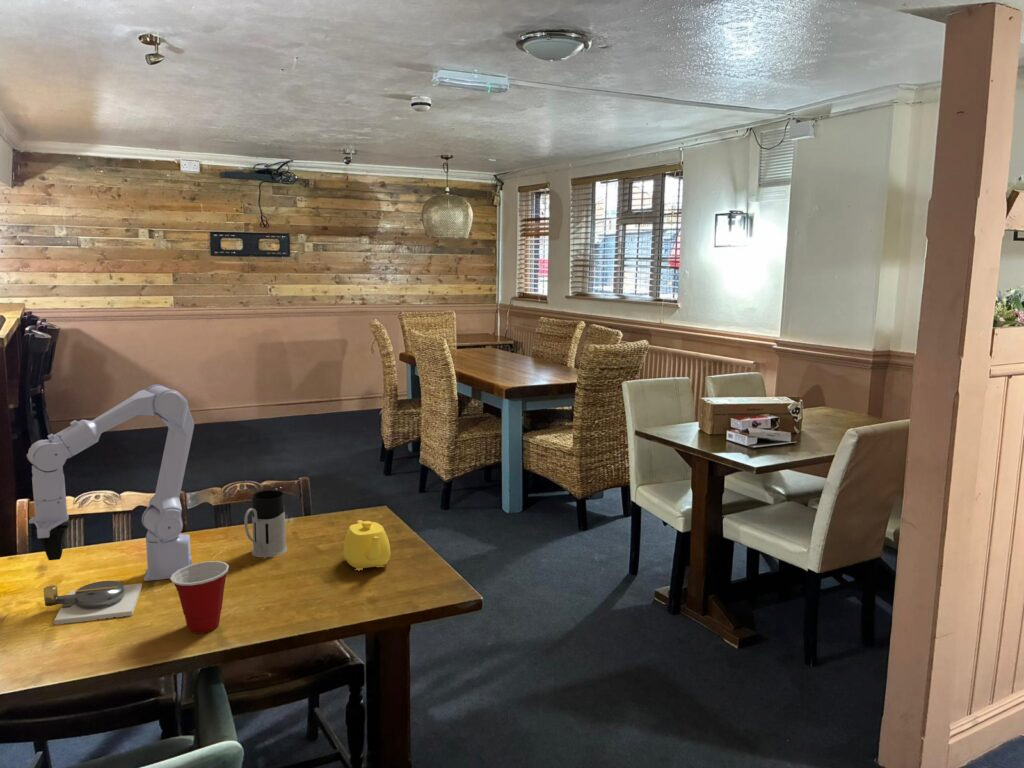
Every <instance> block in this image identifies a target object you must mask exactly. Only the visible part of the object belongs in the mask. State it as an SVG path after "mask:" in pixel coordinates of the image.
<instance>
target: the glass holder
mask: <svg viewBox="0 0 1024 768" xmlns="http://www.w3.org/2000/svg"><path fill="white" fill-rule="evenodd" d="M284 494H285V493H284V492H282V491H281V490H274V489H273V490H272V489H271V490H270V489H269V490H268V489H267V490H261V491H257V492H255V493H253V494H252V495H251V496H252V497H251V500H252V501H251V502H252V507H251V508H248V509H247V510H246V512H245V514H244V521H243V523H244V530H245V533H246V536H247V539H248V540H249V541H250V542H252V543H253V544H252V547H253V548H252V550H251V555H252V554H253V555H254V556H257V557H264V558H263V559H267V558H266V557H274V556H277V555H280V554H282V553H284V552H286V551H287V548H288V547H287V543H286V542H287V541H286V507H285V498H284V497H285V496H284ZM250 512H252V515H251V517H252V519H251V520H252V536H251V534H250V531H249V527H248V516H249V514H250ZM287 552H288V551H287ZM253 555H252V556H253ZM254 556H253V557H254ZM257 557H256V558H257ZM274 558H275V557H274Z"/></svg>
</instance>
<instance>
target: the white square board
mask: <svg viewBox="0 0 1024 768" xmlns="http://www.w3.org/2000/svg"><path fill="white" fill-rule="evenodd" d="M123 585H124V597H123V598H122V599H121V600H119V601H118V602H116V603H113V604H111V605H108V606H104V607H98V608H82V607H79V606H77V605H76V603H68V604H61V605H62V606H61V608H60V609H59V610H58V612H57V615H56V617H55V618H54V620H53V623H54V626H55V625H62V624H63V625H64V623H65V624H73V623H82V622H89V621H90V620H91V621H98V620H97V619H99V620H105V619H106V618H108V619H114V618H113V617H116V618H123V617H124V616H125V617H132V616H133V615H134V611H135V609H136V605H137V603H138V600H139V597H140V594H141V591H142V588H143V584H142V583H134V584H133V583H132V584H123ZM77 590H78V589H75V590H70V591H69V592H68V595H73V594H75V591H77ZM106 620H107V619H106ZM91 621H90V622H91Z"/></svg>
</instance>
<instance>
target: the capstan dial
mask: <svg viewBox="0 0 1024 768" xmlns="http://www.w3.org/2000/svg"><path fill="white" fill-rule="evenodd" d="M124 585H125V584H124V583H123V582H121V581H118V580H102V581H101V580H100V581H95V582H91V583H88V584H85V585H83V586H80V588H78V589H76V590H77V591H75V590H74V591H75V594H73V595H69V594H64V595H58V594H59V592H58V586H57V585H48V586H45V587H44V588H43V598H44V606H45V607H54V606H57V605H63V604H68V603H76V605H77V606H79V607H82V608H98V607H104V606H108V605H111V604H113V603H116V602H118V601H119V600H121V599H122V598H123V597H124Z"/></svg>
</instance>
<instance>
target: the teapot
mask: <svg viewBox="0 0 1024 768" xmlns="http://www.w3.org/2000/svg"><path fill="white" fill-rule="evenodd" d="M343 542H344V543H343V551H342V553H343V557H344V559H345V561H346V562H347V563H348V565H350V566H351V567H353V568H354V569H355V568H364V569H367V568H376V566H380V565H384V566H385V565H386V564H387V563H388V562H389V560H390V558H391V545H390V541H389V538H388V535H387V532H386V531H385V528H384V526H382V525H381V524H380V523H378V522H375V521H370V520H365V521H363V520H362V519H359V520H357V521H356V523H353V524H351V525H350V526H349V527H348V529H347V533H346V535H345V539H344V541H343Z"/></svg>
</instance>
